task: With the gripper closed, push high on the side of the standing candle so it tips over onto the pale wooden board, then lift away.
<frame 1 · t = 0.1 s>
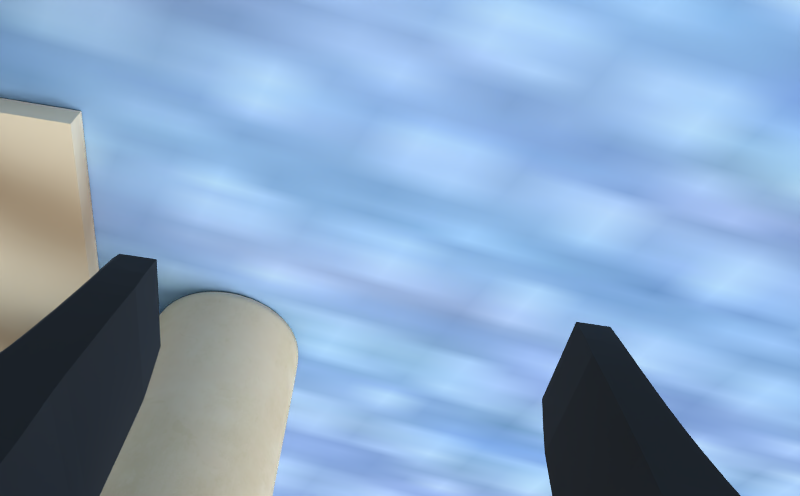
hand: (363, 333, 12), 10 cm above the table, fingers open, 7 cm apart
candle: (228, 340, 27), on the table
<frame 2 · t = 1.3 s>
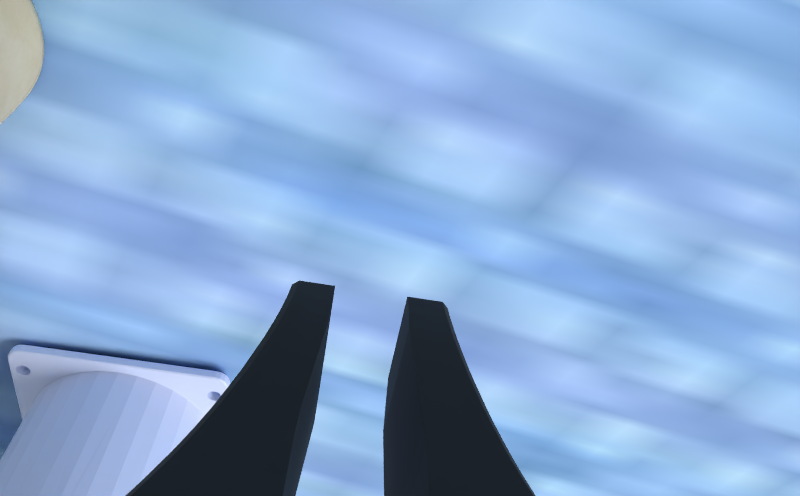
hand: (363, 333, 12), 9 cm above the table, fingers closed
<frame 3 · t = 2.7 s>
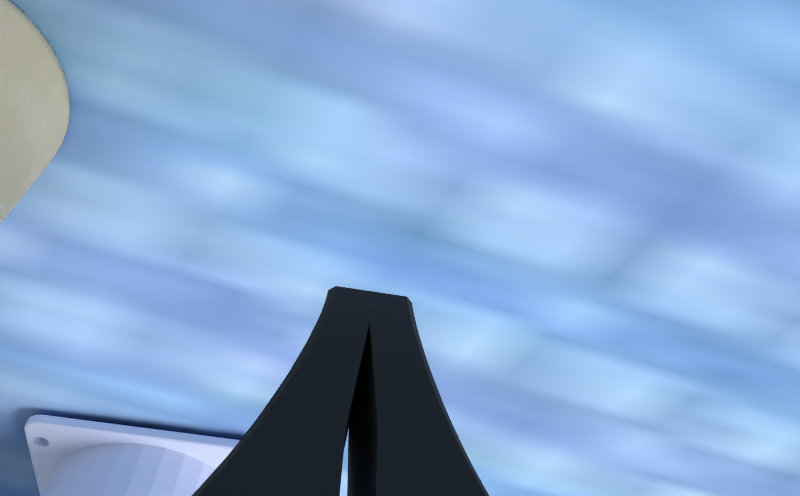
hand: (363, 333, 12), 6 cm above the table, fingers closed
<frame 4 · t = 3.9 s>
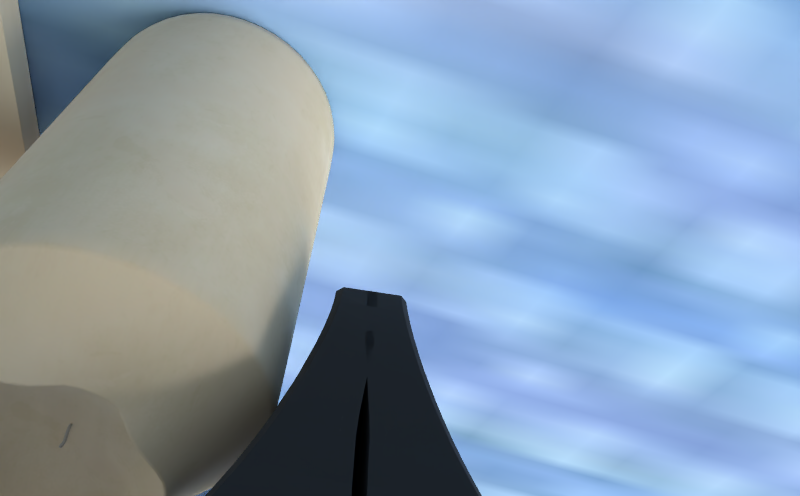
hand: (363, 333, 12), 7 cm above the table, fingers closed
candle: (225, 118, 17), on the table, touching gripper
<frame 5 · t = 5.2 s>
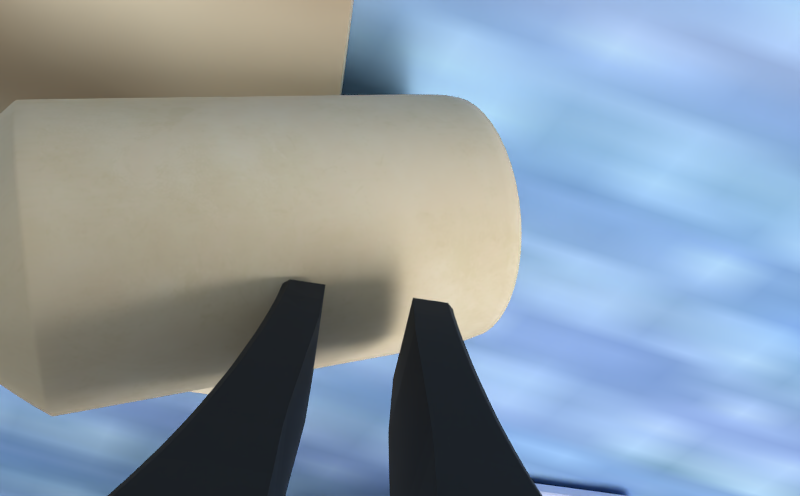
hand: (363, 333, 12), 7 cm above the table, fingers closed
candle: (462, 217, 16), point 2 cm above the table, touching board, gripper
board: (60, 101, 17), on the table
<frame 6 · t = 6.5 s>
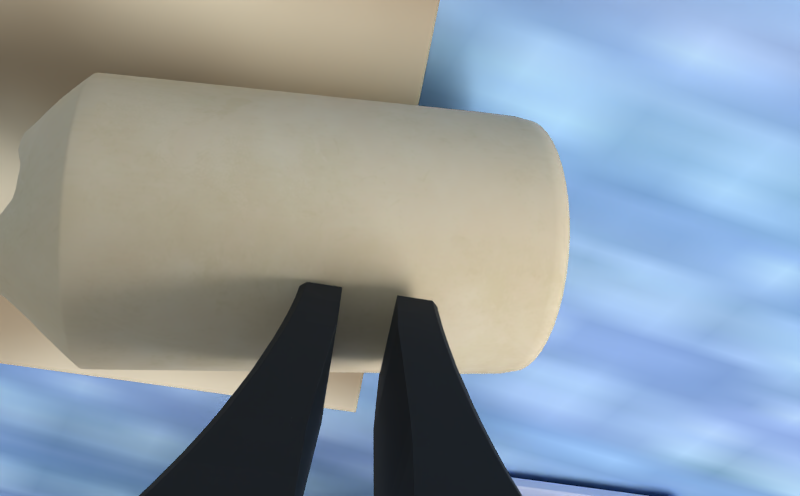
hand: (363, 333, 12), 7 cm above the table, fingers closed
candle: (523, 246, 16), point 3 cm above the table, touching board, gripper
board: (130, 108, 17), on the table
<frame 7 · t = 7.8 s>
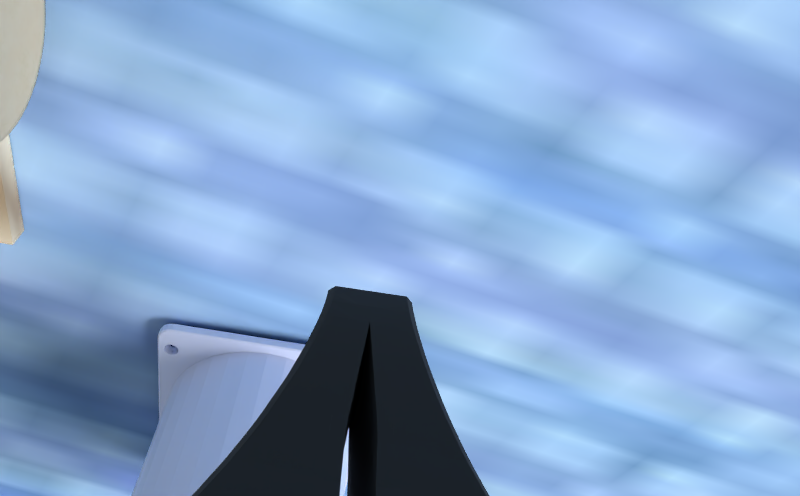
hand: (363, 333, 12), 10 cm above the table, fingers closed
candle: (5, 33, 16), point 4 cm above the table, touching board
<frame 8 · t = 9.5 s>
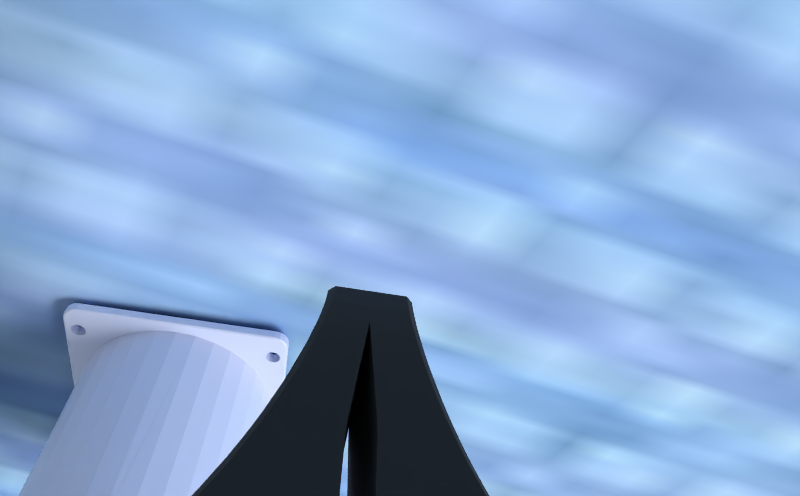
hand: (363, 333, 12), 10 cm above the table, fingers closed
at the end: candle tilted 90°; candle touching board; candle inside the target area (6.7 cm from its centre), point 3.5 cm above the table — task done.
